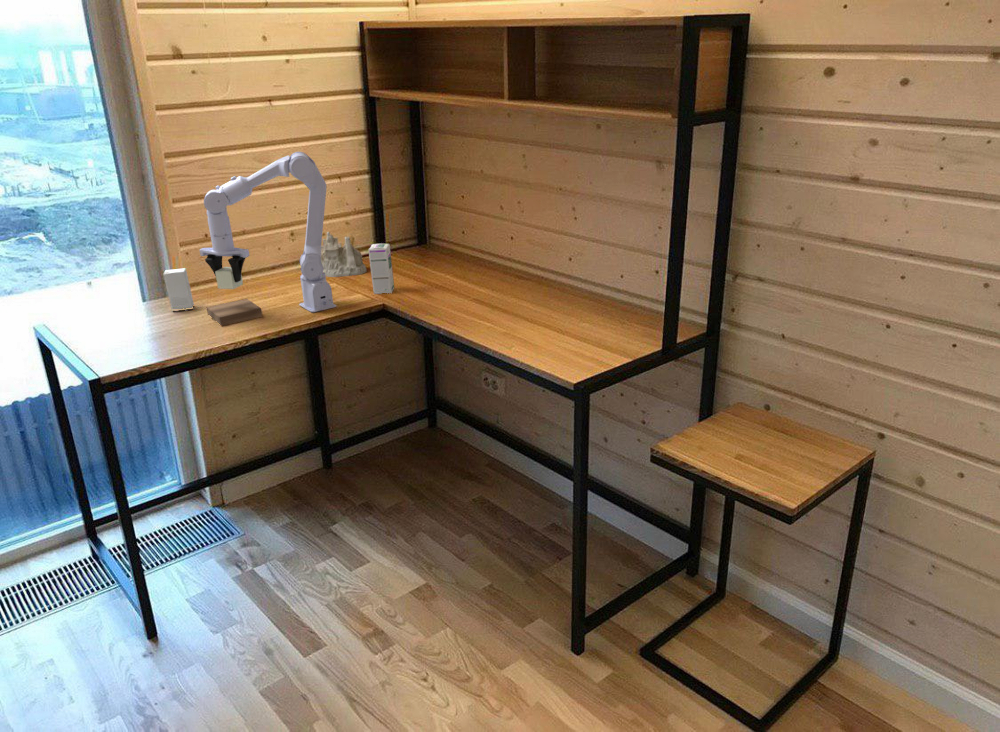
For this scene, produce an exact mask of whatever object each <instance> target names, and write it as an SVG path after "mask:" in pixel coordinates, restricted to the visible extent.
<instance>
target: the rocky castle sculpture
mask: <svg viewBox="0 0 1000 732" xmlns="http://www.w3.org/2000/svg"><path fill="white" fill-rule="evenodd" d="M362 257H363V255H362V253H361V251H359V250H358V249H357V248H356V247H354V246H353V245H352V243H351V238H350V236H344V244H343V246H342V243H339V239H338V237H334V235H333V234H331V233H330V231H327V232H326V238H322V245H321V261H322V265H323V272H324V273H325V276H326V278H327V277H329V278H338V277H351V276H352V275H353V276H359V275H363V274H365V273H367V271H368V270H367V267H366V266H367V265H366V264H365V263H364V262H363V261H364V260H363V258H362Z"/></svg>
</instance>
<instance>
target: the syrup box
mask: <svg viewBox="0 0 1000 732" xmlns="http://www.w3.org/2000/svg"><path fill="white" fill-rule="evenodd" d="M368 256H369V265H370V267H369V268H370V273H371V275H370V276H371V283H372V290H373V295H383V294H382V293H387V294H388V293H389V295H390V293H391V294H392V293H393V292H394V289H395V281H394V271H393V262H392V253H391V246H390V243H384V242H383V243H382V242H381V243H374V244H373V243H372V244H371V246H370V247H369V248H368ZM387 294H386V295H387Z"/></svg>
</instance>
